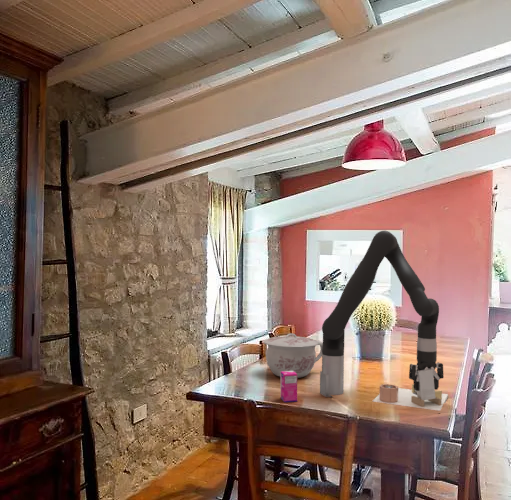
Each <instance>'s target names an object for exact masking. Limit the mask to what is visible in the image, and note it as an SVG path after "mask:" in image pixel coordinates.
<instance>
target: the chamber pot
mask: <svg viewBox="0 0 511 500" xmlns="http://www.w3.org/2000/svg"><path fill="white" fill-rule="evenodd" d="M262 343H263V344H265V345H267V348H266V350H265V359H266V365H267V366H268V368H269V369H270V371H271V372H272V374H273V375H274V376H277V377H278V378H280V372H281V371H294V372H295V373H297V379H300V378H304V377H307V376H309V374H310V372H311V371H312V370H313V368H314V366H315V364H316V363H317V362H318V361H319V360H320V359H322V345H323V341H320V340H316V339H313V338H309V337H304V336H297V335H296V334H295V333H287V335H282V336H281V335H279V336H273V337H269V338H266V339H264V340H263V341H262ZM316 346H320V348H319V349H320V351H319V353H318V355H317V353H316V352H317V351H316ZM316 355H317V356H316Z"/></svg>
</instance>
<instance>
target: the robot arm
mask: <svg viewBox="0 0 511 500" xmlns="http://www.w3.org/2000/svg"><path fill="white" fill-rule="evenodd" d="M403 253H404V252H402V249H401V247H400V244H399V243H398V238H397V237H396V236H395V235H394V234H393V233H391V232H390V231H387V230H380V231H379V232H377V233H376V234H374V236H373V238H372V239H371V242H370V244H369V246H368V248H367V250H366V253H365V255H364V256H363V258H362V259H361V261H360V263H359V264H358V265H357V267H356V268H355V270H354V272H353V273H352V274H351V277H350V278H349V280H348V281H347V283H346V285H345V287H344V289H343V291H342V293H341V294H340V298H339V300H338V302H337V304H336V306H335V307H334V309H333V310H332V312H331V313H330V314H329V316H328V317H326V318H325V320H324V321H323V323H322V326H321V330H322V343H323V345H322V357H321V371H320V372H319V394H321V396H323V397H326V398H333V396H339V395H343V394H344V390H345V389H344V388H345V387H344V374H345V373H344V371H345V370H344V368H345V367H344V366H345V364H344V363H345V330H346V326H347V325H348V323H349V321H350V319H351V317H352V315H353V313H354V312H355V311H356V310H357V308H358V307H359V306H360V304H361V303H362V302H363V301H364V299H365V298H366V296H367V294H368V292H369V291H370V290H371V288H372V286H373V284H374V281H375V279H376V277H377V276H376V275H377V272H378V269H379V267H380V265H381V263H382V262H383V260H384V259H385V258H386V260H387V262H389V264H390V265H391V267H392V268H393V271H394V272H395V274H396V276H397V278H398V280H399V282H400V283H401V285H402V287H403V289H404V290H405V291H406V293H407V294H408V296H409V299H410V302H411V304H412V306H413V309H414V311H415V312H416V313H417V314H418V315H419V316H420V317H421V318H420V319H421V320H420V322H419V323H418V326H417V340H416V364H413V363H410V364H409V370H408V371H409V372H408V373H409V374H408V378H409V380H412V381H413V384H414V386H413V387H414V389H415V390H416V391H419V376H418V377H417V374H416V370H417V369H419V370H428V369H429V368H430V369H433V377H434V388H435V391H436V390H439V387H440V386H439V382H440V380H441V379H444V364H443V363H441V362H437V359H438V358H437V357H438V356H437V351H438V350H437V348H438V347H437V345H438V343H437V325H438V320H439V316H440V315H439V314H440V306H439V303H438V301H437V300H435V299H434V298H428V296H427V294H426V292H425V290H426V288H425V286H424V284H423V283H422V280H421V279H420V278H419V277H418V275H417V273H416V272H415V270H413V267H411V264H410V263H409V261H407V259H406V257H405V254H403ZM416 368H417V369H416Z"/></svg>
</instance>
